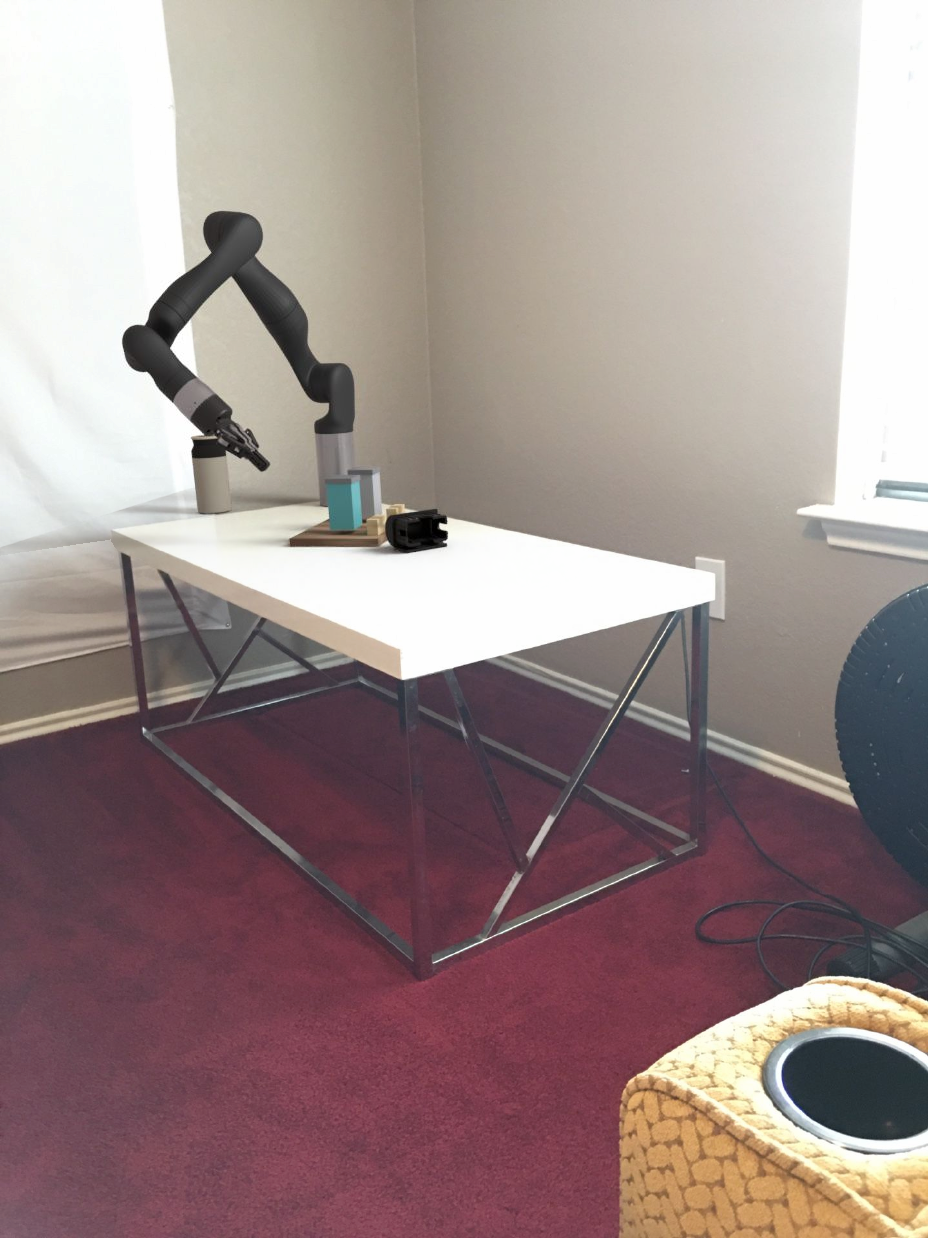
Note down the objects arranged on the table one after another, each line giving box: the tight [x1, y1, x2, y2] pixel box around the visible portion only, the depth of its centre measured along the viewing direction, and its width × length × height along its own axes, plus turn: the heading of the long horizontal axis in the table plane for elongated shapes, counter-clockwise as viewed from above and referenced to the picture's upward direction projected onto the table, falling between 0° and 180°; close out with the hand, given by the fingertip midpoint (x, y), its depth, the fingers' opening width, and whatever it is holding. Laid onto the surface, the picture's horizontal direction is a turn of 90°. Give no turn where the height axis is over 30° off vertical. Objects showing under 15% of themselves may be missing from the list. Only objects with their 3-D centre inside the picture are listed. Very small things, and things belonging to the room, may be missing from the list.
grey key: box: [347, 466, 383, 518], centre depth 216 cm, size 5×5×10 cm
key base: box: [288, 503, 406, 548], centre depth 211 cm, size 26×18×4 cm
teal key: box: [325, 475, 362, 530], centre depth 203 cm, size 5×5×10 cm
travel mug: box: [190, 434, 233, 515], centre depth 246 cm, size 8×8×18 cm
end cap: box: [385, 508, 449, 554], centre depth 194 cm, size 10×7×7 cm
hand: (266, 468), depth 205 cm, fingers closed
